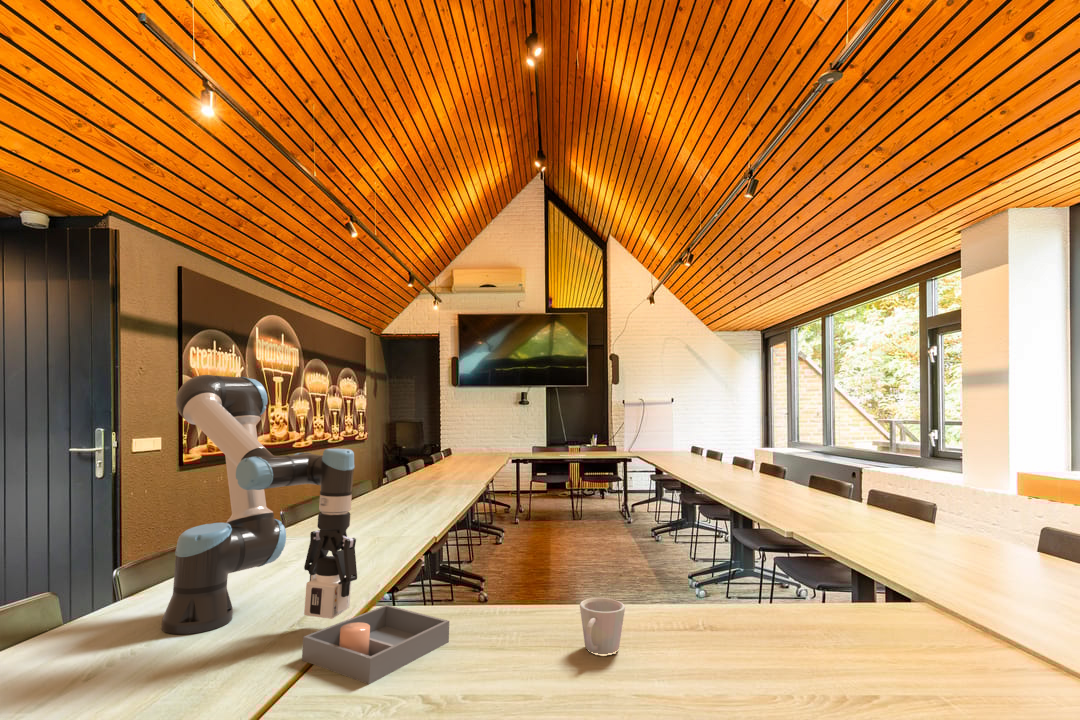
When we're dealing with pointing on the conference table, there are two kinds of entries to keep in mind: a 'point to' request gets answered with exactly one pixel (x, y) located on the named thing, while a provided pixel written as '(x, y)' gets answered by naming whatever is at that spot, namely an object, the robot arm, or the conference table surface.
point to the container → (324, 590)
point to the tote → (377, 643)
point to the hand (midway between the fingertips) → (327, 605)
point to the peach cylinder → (355, 637)
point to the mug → (602, 624)
